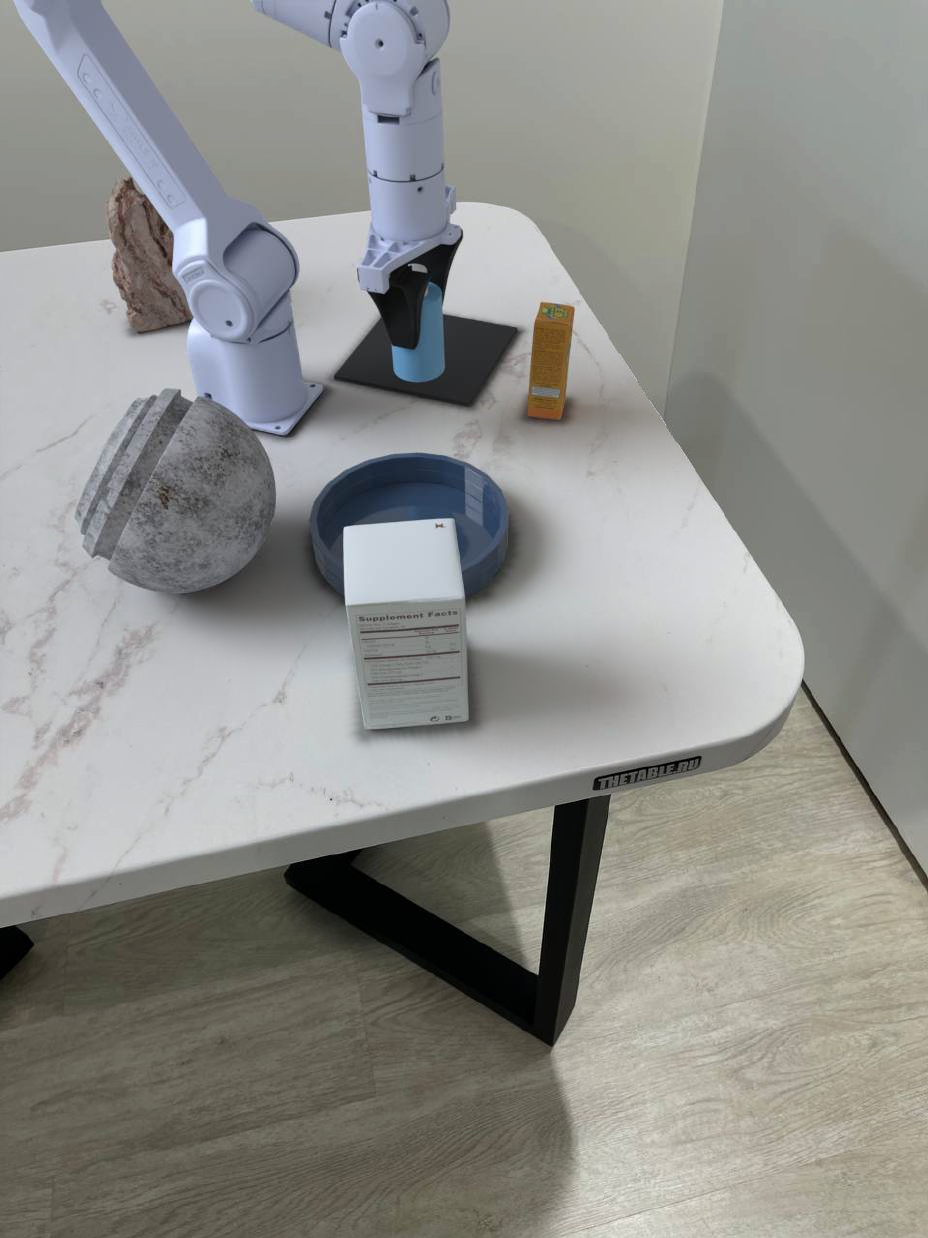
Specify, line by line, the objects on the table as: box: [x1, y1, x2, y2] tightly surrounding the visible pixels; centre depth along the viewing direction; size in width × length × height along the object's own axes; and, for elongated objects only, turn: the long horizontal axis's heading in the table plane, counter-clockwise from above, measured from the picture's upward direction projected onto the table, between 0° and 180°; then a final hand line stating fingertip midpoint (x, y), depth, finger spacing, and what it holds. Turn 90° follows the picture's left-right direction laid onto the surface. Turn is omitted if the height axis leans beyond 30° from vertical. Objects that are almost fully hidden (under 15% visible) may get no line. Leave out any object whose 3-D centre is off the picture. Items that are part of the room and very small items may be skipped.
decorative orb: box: [73, 387, 277, 594], centre depth 75 cm, size 15×14×15 cm
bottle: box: [392, 264, 445, 382], centre depth 84 cm, size 4×4×9 cm
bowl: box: [308, 451, 510, 599], centre depth 81 cm, size 16×16×3 cm
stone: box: [104, 176, 194, 333], centre depth 102 cm, size 15×8×10 cm
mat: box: [333, 313, 518, 407], centre depth 101 cm, size 14×14×1 cm
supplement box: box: [526, 301, 576, 421], centre depth 90 cm, size 3×3×10 cm
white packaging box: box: [343, 518, 470, 730], centre depth 67 cm, size 7×7×13 cm
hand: (416, 330), depth 84 cm, fingers closed on bottle, 4 cm apart
